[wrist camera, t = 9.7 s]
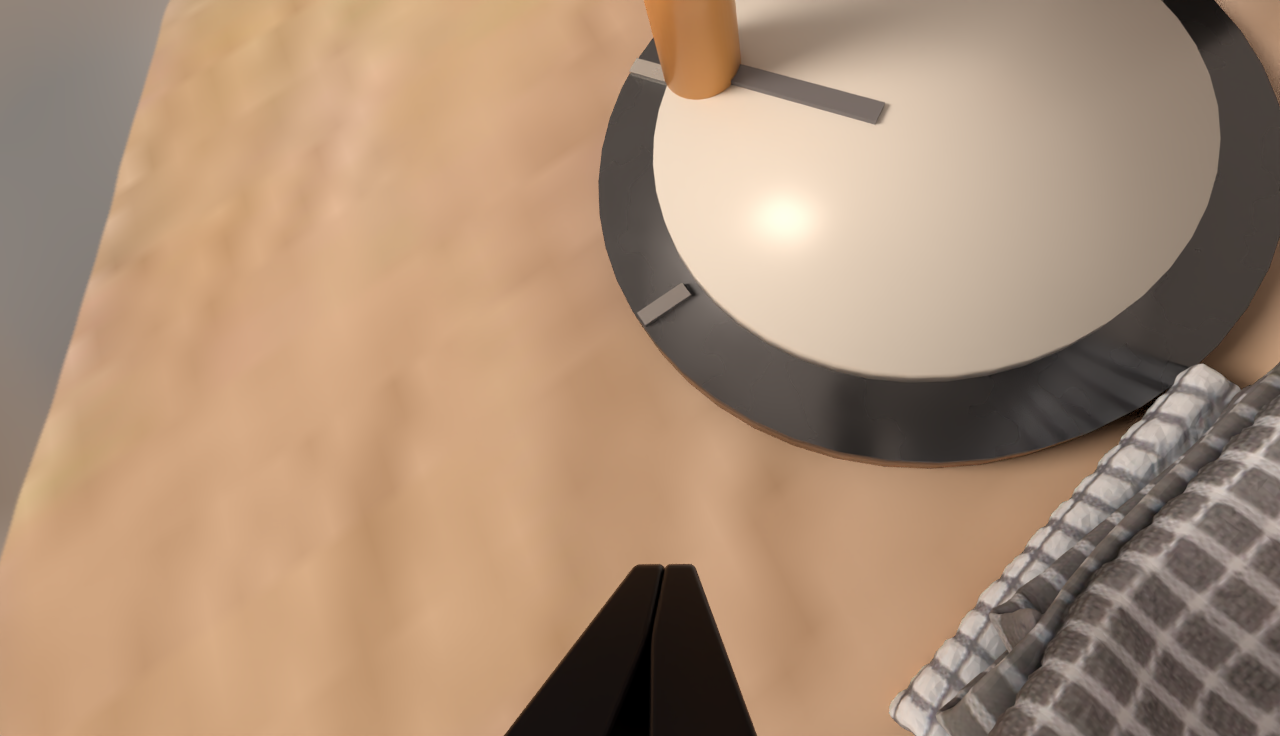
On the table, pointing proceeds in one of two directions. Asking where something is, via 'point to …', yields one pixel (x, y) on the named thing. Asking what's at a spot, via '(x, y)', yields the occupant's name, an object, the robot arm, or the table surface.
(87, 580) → the table surface
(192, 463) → the table surface
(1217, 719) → the towel
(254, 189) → the table surface
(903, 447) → the dial plate
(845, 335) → the dial
